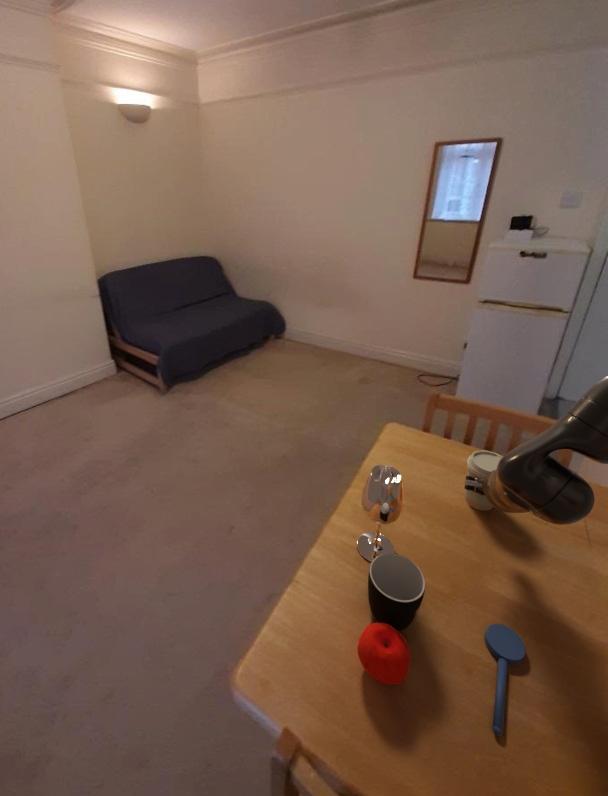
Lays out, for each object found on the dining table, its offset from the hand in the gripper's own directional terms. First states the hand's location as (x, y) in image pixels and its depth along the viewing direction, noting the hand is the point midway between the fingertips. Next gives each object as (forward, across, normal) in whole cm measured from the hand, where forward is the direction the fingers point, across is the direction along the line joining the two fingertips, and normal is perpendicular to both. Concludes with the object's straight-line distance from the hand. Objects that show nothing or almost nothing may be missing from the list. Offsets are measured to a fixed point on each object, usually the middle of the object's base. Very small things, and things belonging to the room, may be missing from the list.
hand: (492, 493), depth 83 cm
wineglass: (-3, +20, +17) cm, 27 cm away
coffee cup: (+13, 0, +2) cm, 13 cm away
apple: (-18, +16, +33) cm, 41 cm away
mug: (-11, +16, +25) cm, 32 cm away
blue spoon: (-14, -1, +29) cm, 32 cm away
